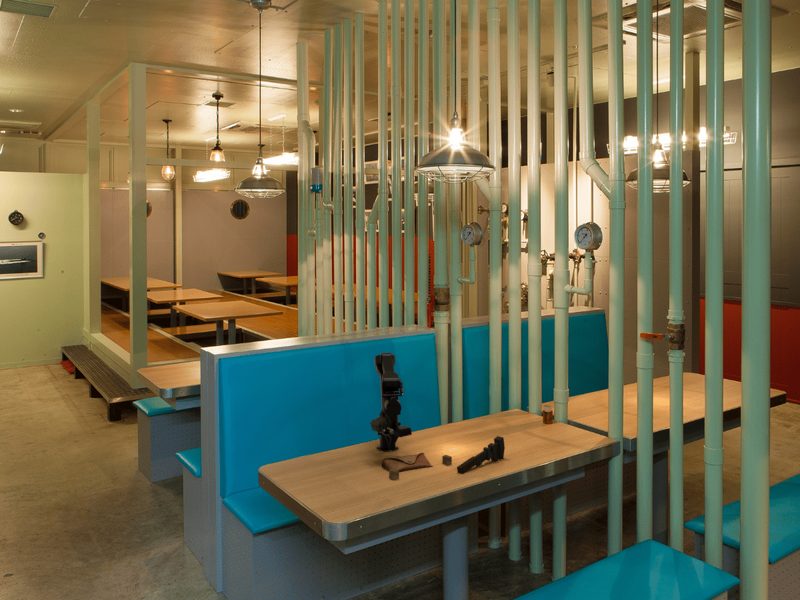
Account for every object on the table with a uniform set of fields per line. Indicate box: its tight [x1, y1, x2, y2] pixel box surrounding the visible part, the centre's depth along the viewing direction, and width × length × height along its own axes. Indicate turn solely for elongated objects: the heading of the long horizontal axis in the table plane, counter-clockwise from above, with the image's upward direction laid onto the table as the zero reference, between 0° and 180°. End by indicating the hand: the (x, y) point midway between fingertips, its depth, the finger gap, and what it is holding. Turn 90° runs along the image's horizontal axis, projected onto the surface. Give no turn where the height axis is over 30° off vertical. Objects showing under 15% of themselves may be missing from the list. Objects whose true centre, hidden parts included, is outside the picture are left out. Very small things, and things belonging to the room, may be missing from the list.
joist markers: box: [388, 454, 453, 481], centre depth 235 cm, size 3×27×3 cm, turn 128°
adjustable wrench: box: [456, 435, 506, 475], centre depth 242 cm, size 8×3×25 cm
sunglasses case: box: [381, 452, 434, 473], centre depth 240 cm, size 18×7×7 cm, turn 117°
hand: (390, 449), depth 249 cm, fingers closed
